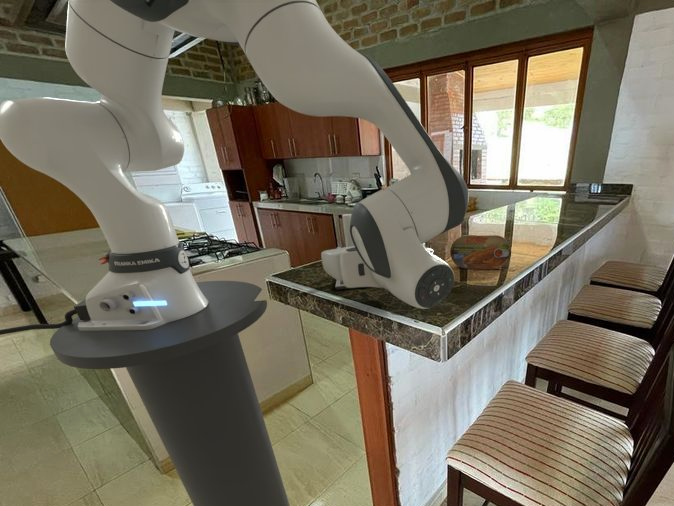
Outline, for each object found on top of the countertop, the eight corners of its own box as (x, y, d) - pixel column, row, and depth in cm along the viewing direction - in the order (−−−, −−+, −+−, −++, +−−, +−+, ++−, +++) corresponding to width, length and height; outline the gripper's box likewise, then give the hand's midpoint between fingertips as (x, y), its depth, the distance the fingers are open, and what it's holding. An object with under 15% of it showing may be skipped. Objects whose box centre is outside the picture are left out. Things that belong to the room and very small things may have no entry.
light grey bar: (349, 276, 79) (341, 215, 73) (349, 273, 81) (342, 214, 75) (358, 275, 80) (352, 215, 74) (358, 272, 82) (352, 213, 76)
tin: (449, 268, 86) (450, 235, 83) (451, 264, 89) (452, 232, 86) (509, 270, 83) (512, 236, 79) (509, 266, 86) (512, 234, 82)
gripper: (437, 236, 63) (404, 226, 74) (332, 254, 54) (311, 239, 65) (438, 268, 66) (405, 253, 77) (337, 290, 57) (317, 269, 68)
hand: (361, 247), depth 71 cm, fingers open, 8 cm apart
